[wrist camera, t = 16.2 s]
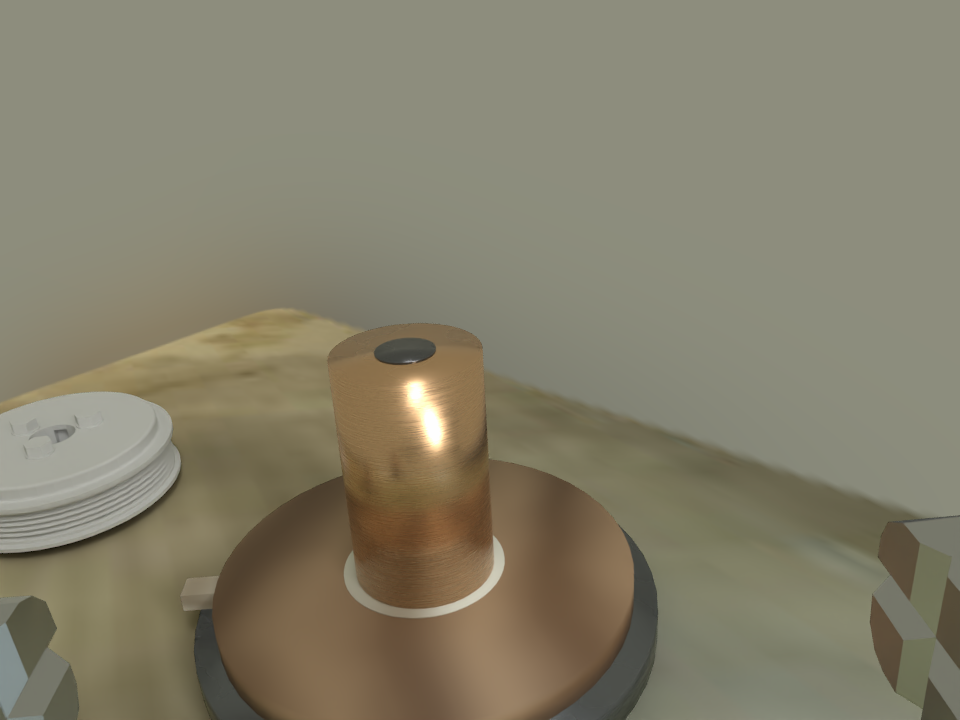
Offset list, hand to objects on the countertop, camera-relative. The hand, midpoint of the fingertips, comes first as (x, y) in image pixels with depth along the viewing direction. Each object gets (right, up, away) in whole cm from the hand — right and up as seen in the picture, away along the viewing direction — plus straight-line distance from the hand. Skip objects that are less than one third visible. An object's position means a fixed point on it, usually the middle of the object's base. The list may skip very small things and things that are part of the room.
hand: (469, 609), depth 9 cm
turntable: (-3, -8, +30) cm, 31 cm away
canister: (-2, -6, +29) cm, 30 cm away
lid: (-24, -6, +42) cm, 49 cm away
